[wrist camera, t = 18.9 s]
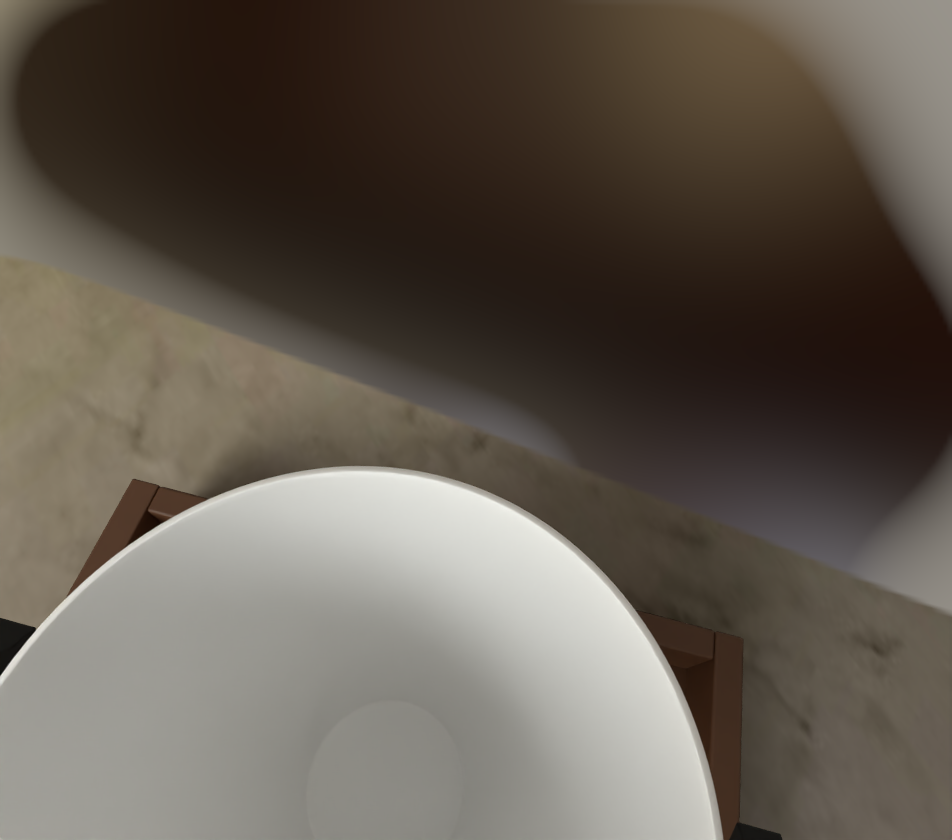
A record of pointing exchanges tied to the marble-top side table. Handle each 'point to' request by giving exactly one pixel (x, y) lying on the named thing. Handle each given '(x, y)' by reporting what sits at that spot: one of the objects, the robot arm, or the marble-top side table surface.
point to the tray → (684, 645)
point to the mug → (349, 681)
